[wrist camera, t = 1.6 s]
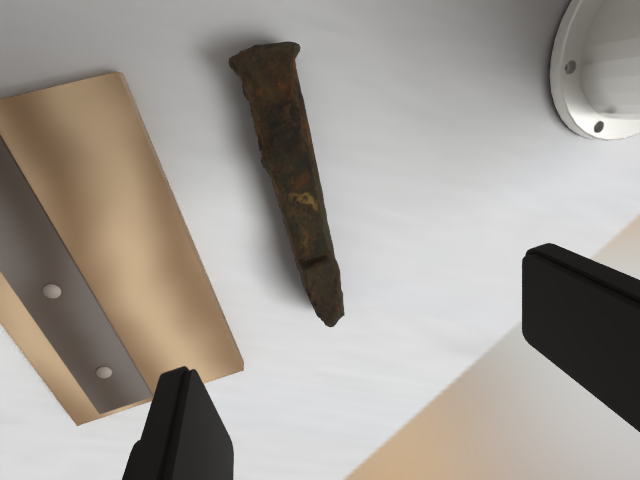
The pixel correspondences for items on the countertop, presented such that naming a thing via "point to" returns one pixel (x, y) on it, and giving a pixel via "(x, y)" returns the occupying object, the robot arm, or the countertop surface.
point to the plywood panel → (99, 253)
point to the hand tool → (292, 167)
